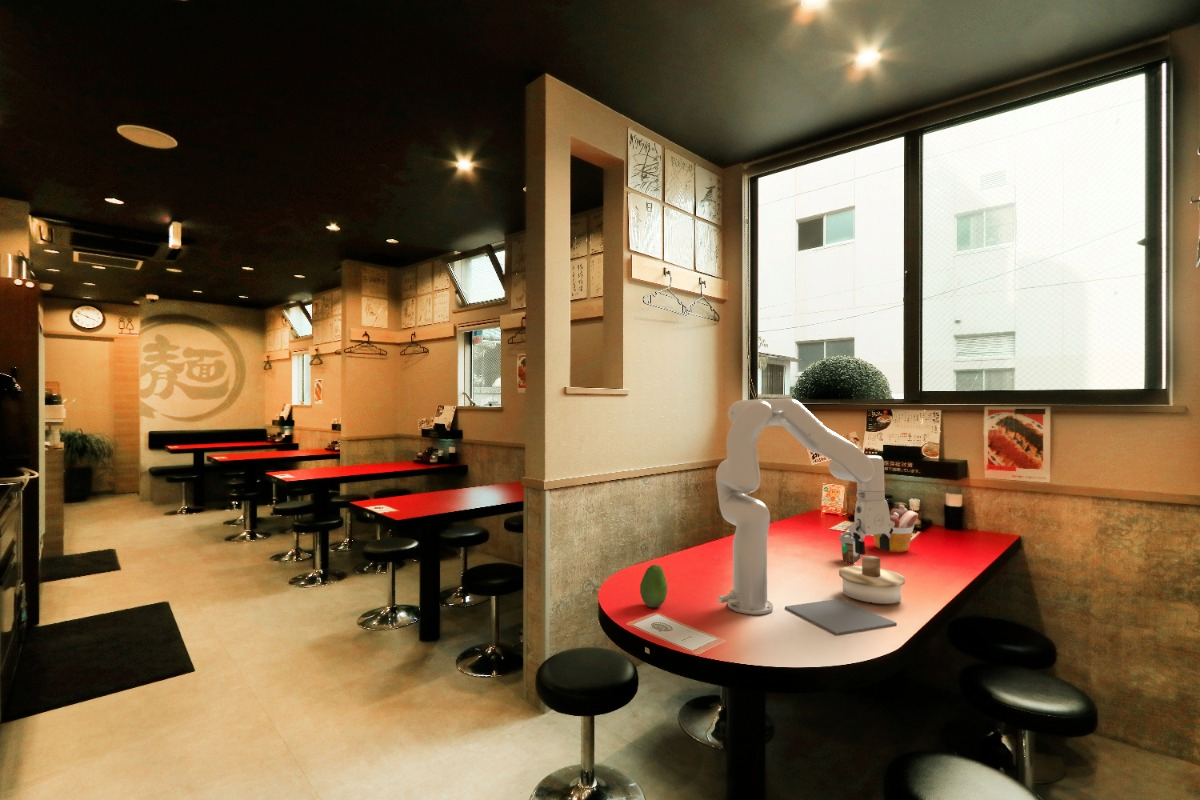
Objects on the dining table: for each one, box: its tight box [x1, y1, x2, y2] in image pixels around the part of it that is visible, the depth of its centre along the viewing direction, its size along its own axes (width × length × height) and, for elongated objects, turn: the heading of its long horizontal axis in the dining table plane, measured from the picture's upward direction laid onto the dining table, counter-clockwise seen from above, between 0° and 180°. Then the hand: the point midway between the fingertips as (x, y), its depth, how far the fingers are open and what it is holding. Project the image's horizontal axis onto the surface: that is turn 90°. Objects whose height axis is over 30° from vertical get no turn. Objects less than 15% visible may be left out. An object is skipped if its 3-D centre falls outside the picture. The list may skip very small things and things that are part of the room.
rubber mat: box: [784, 598, 898, 636], centre depth 151 cm, size 20×20×1 cm
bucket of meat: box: [872, 504, 919, 552], centre depth 226 cm, size 20×16×20 cm
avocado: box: [639, 564, 668, 608], centre depth 159 cm, size 8×8×12 cm
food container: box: [838, 531, 862, 565], centre depth 208 cm, size 12×6×10 cm, turn 141°
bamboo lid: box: [838, 555, 906, 587], centre depth 167 cm, size 18×18×6 cm
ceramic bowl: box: [842, 578, 902, 604], centre depth 166 cm, size 16×16×6 cm
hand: (872, 551), depth 167 cm, fingers open, 9 cm apart
